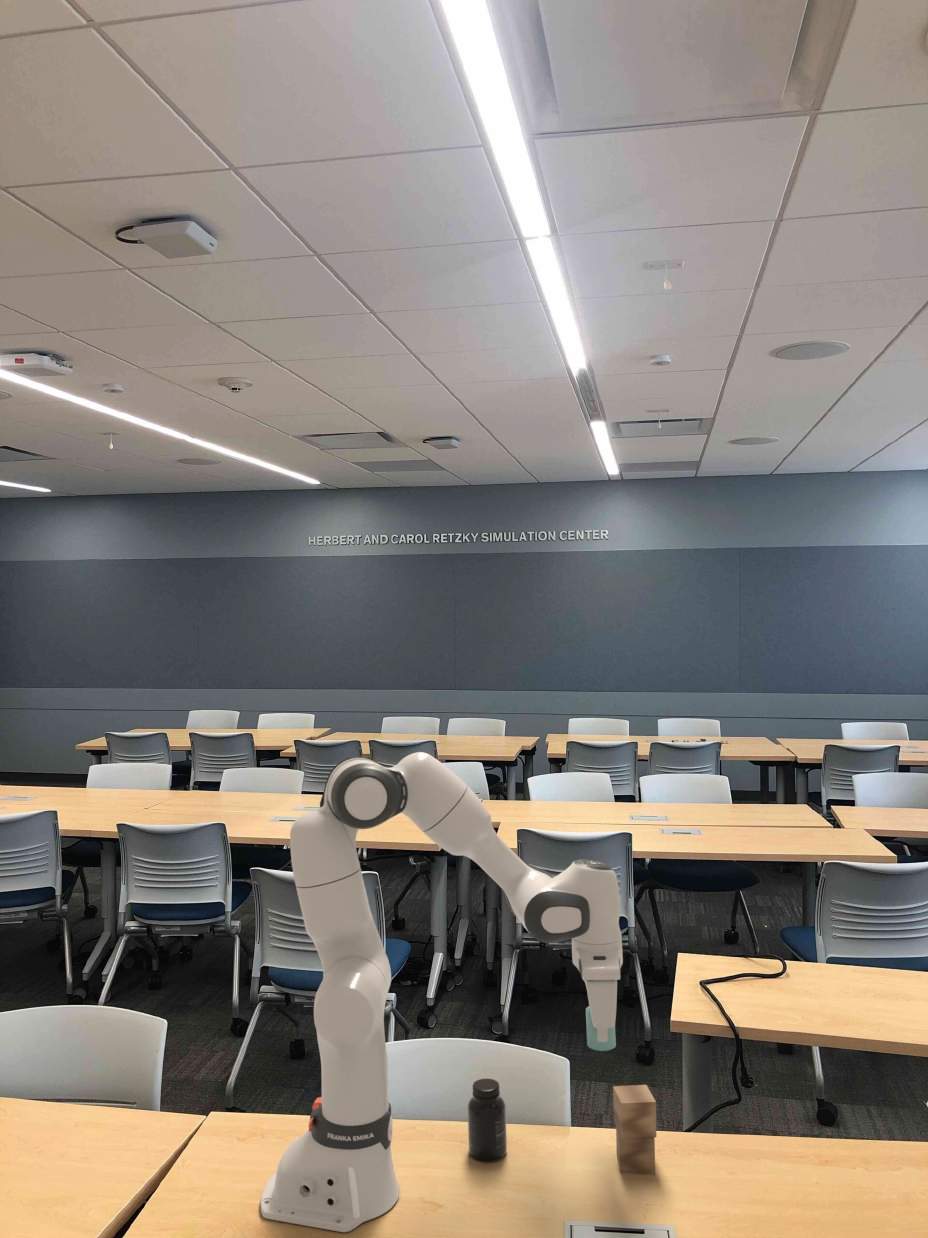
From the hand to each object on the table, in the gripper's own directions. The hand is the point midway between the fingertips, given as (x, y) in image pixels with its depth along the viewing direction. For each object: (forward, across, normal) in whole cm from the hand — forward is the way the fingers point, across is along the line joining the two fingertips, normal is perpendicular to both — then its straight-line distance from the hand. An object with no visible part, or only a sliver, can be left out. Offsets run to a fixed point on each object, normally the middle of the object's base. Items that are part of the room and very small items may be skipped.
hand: (600, 1032), depth 157 cm
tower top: (+16, 0, +5) cm, 17 cm away
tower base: (+22, 0, +5) cm, 23 cm away
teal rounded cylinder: (+2, 0, 0) cm, 2 cm away
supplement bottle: (+22, -2, -21) cm, 30 cm away
